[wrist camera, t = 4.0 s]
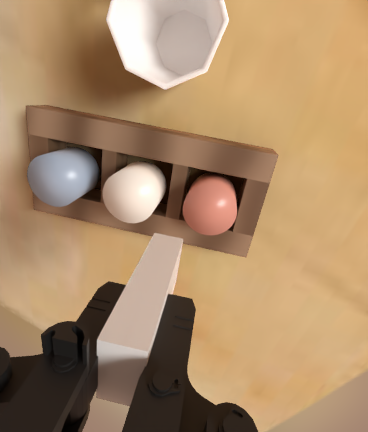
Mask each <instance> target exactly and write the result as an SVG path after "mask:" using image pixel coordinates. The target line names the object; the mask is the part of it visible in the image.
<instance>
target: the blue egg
mask: <svg viewBox="0 0 368 432" xmlns="http://www.w3.org/2000/svg"><path fill="white" fill-rule="evenodd" d="M99 177H100V171H99V167H98V164H97V162H96V160H95V159H94V157H93V156H92V155H91V154H90V153H89V152H87V151H86V150H84V149H82V148H79V147H68V148H64V149H61V150H57V151H54V152H50V153H47V154H43V155H40V156H37V157H35V158H34V159H33V160H32V161H31V162H30V164H29V166H28V170H27V178H28V182H29V185H30V187H31V189H32V191H33V192H34V194H35V195H36V196H37V197H38V198H39V199H40V200H41V201H43V202H44V203H46V204H48V205H51V206H55V207H63V206H66V205H69V204H70V203H72V202H73V201H75V200H76V199H78V198H79V197H81V196H83V195H84V194H86V193H87V192H89V191H90V190H92V189H93V188H94V187H95V186H96V185H97V183H98V181H99Z"/></svg>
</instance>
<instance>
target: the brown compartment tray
mask: <svg viewBox="0 0 368 432" xmlns="http://www.w3.org/2000/svg"><path fill="white" fill-rule="evenodd" d="M26 115H27V127H28V140H29V153H30V162H31V161H32V160H33V159H34V158H35V157H37V156H40V155H43V154H47V153H50V152H54V151H57V150H61V149H64V148H66V142H70V143H75V144H80V145H84V146H89V147H94V148H99V149H102V176H101V190H96V189H92V190H90V191H89V192H87V193H86V194H84V195H83V196H81V197H79V198H78V199H76V200H75V201H73V202H72V203H70V204H69V205H66V206H63V207H55V206H51V205H48V204H46V203H44V202H43V201H41V200H40V199H39V198H38V197H37V196H36V195H35V194H34V192H33V203H34V210H38V211H42V212H46V213H51V214H55V215H60V216H64V217H69V218H73V219H77V220H82V221H86V222H91V223H95V224H100V225H104V226H109V227H113V228H117V229H122V230H126V231H131V232H135V233H140V234H144V235H148V236H153V235H154V233H158V234H163V235H167V236H172V237H177V238H182V239H183V243H184V244H188V245H193V246H197V247H202V248H206V249H211V250H215V251H219V252H224V253H228V254H233V255H237V256H242V257H246V256H247V253H248V250H249V247H250V244H251V241H252V237H253V234H254V231H255V228H256V225H257V222H258V219H259V215H260V212H261V209H262V206H263V203H264V200H265V196H266V193H267V190H268V187H269V184H270V181H271V178H272V174H273V171H274V168H275V165H276V162H277V159H278V154H277V153H276V152H275V151H274V150H273V149H269V148H264V147H259V146H253V145H248V144H243V143H238V142H233V141H228V140H223V139H217V138H212V137H207V136H202V135H197V134H192V133H187V132H181V131H176V130H171V129H166V128H161V127H156V126H151V125H145V124H140V123H135V122H130V121H125V120H120V119H115V118H110V117H104V116H99V115H94V114H89V113H84V112H79V111H74V110H68V109H63V108H58V107H53V106H48V105H41V106H26ZM128 154H129V155H134V156H138V157H143V158H148V159H153V160H158V161H163V162H168V163H173V170H172V177H171V184H170V190H169V197H168V203H167V205H166V204H161V203H159V204H158V205H157V207H156V208H155V210H154V211H153V213H152V214H151V215H150V217H149V218H147V219H146V220H144V221H142V222H139V223H126V222H123V221H121V220H119V219H117V218H116V217H114V216H113V215H112V214H111V213H110V212H109V211H108V209H107V208H106V206H105V203H104V200H103V187H104V184H105V182H106V181H107V179H108V178H109V177H110V176H112V175H113V174H115V173H116V172H118V171H119V170H121V169H123V168H124V167H126V166H127V155H128ZM191 167H192V168H197V169H202V170H207V171H212V172H217V173H222V174H227V175H232V176H236V177H241V178H243V181H242V185H241V188H240V192H239V196H238V200H237V216H236V219H235V221H234V223H233V225H232V226H231V227H230V228H229V229H228V230H227V231H225V232H223V233H221V234H218V235H203V234H200V233H198V232H196V231H194V230H193V229H192V228H191V227H190V226H189V225H188V224H187V223H186V221H185V219H184V216H183V204H184V201H185V197H186V192H187V186H188V181H189V175H190V170H191Z"/></svg>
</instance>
